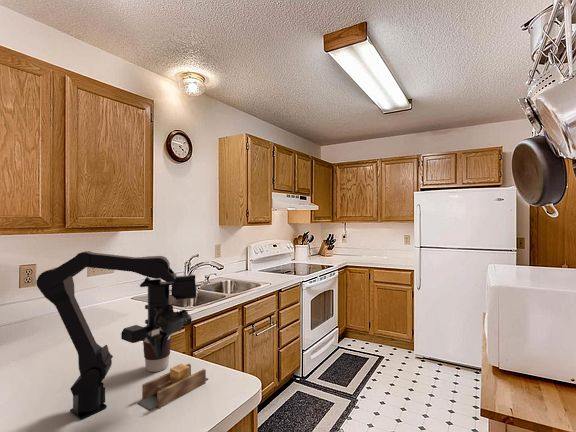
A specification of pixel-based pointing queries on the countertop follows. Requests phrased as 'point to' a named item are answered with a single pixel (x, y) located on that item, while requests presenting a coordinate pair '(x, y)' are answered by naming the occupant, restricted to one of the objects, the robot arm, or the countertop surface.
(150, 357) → the coffee cup
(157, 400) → the trough
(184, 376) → the block
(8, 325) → the countertop surface
